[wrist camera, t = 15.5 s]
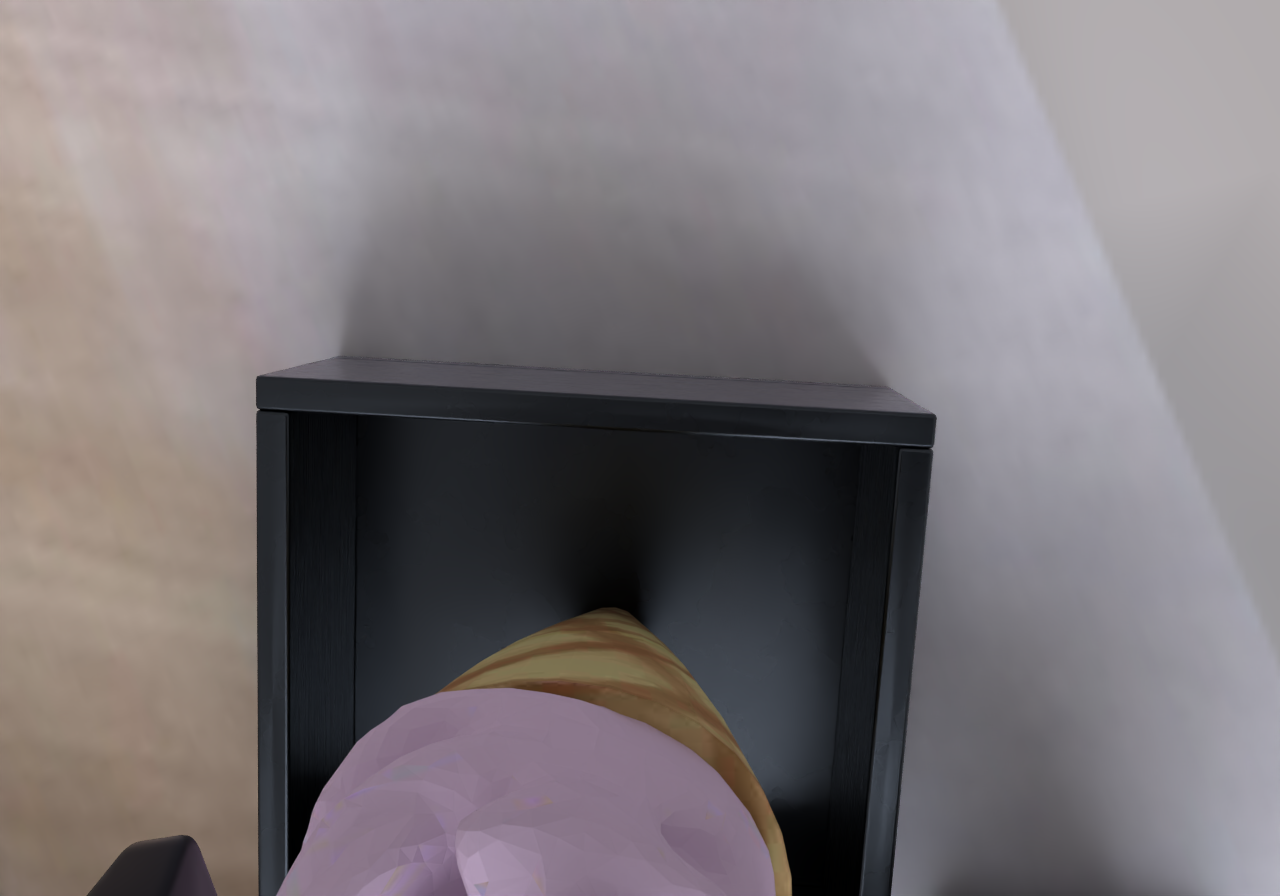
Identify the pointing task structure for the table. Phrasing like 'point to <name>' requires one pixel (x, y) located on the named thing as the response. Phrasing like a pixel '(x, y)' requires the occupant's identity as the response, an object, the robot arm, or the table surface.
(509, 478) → the open black storage bin
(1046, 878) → the table surface
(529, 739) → the ice cream cone
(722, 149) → the table surface
